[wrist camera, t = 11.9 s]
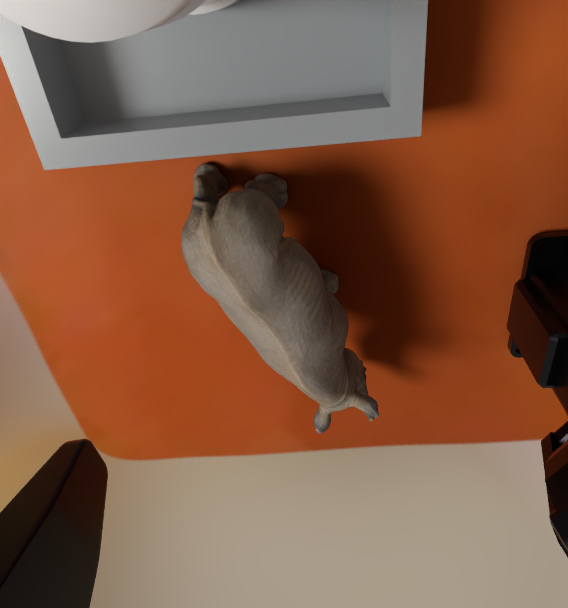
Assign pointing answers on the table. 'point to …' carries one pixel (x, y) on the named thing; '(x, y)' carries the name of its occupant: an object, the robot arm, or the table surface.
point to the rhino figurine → (273, 289)
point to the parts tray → (224, 82)
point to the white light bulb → (102, 16)
